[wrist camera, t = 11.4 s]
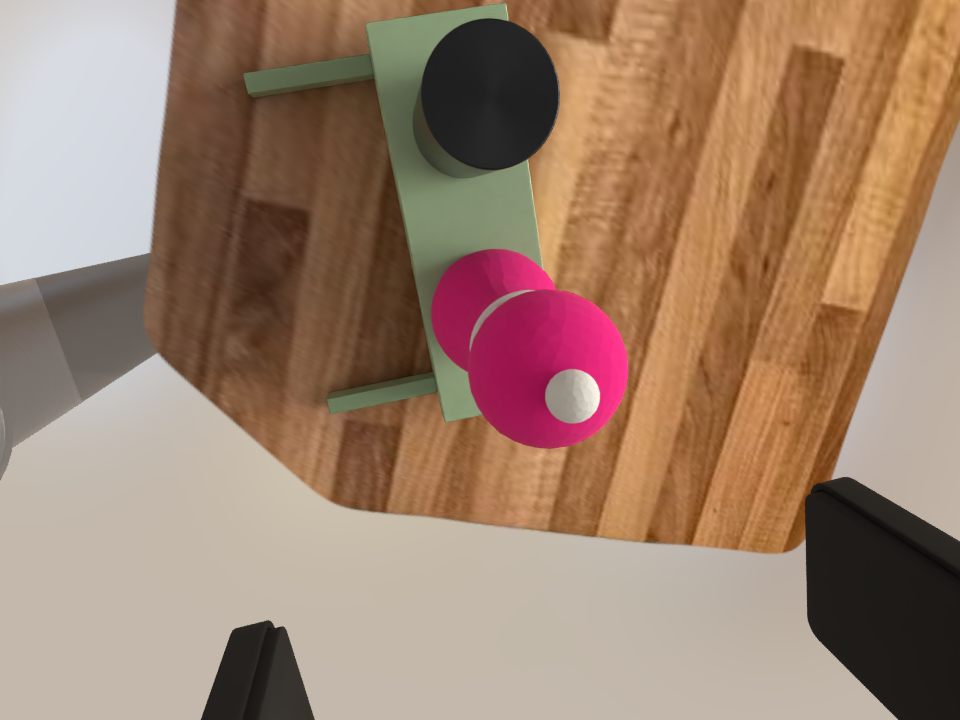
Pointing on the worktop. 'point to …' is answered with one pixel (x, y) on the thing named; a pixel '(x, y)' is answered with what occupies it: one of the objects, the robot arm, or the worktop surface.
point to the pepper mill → (529, 349)
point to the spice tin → (485, 99)
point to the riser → (423, 189)
